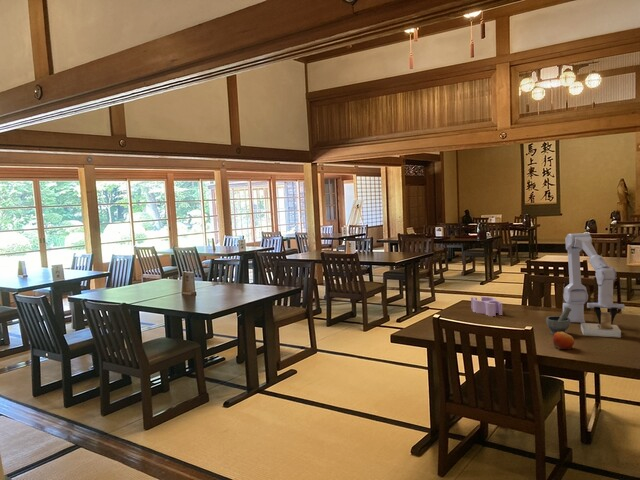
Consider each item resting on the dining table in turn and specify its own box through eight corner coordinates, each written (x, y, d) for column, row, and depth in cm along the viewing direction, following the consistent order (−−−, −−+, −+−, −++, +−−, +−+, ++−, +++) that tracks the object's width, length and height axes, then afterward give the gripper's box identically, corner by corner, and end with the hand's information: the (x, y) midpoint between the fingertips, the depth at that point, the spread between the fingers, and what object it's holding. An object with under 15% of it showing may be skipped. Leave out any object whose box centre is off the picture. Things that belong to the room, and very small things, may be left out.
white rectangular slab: (583, 335, 221) (583, 328, 221) (580, 329, 231) (580, 322, 230) (620, 337, 216) (620, 330, 215) (616, 331, 225) (616, 324, 225)
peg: (600, 331, 221) (601, 314, 221) (599, 329, 225) (599, 312, 224) (611, 332, 220) (611, 314, 219) (609, 329, 224) (609, 312, 223)
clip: (508, 315, 262) (508, 302, 262) (487, 317, 259) (487, 304, 259) (486, 307, 282) (486, 295, 281) (467, 309, 278) (467, 297, 278)
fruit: (544, 343, 208) (554, 326, 208) (559, 351, 209) (569, 335, 209) (555, 348, 200) (565, 331, 200) (571, 357, 201) (580, 340, 201)
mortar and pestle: (553, 337, 221) (553, 310, 219) (541, 331, 230) (541, 306, 229) (577, 335, 222) (577, 309, 221) (564, 329, 231) (564, 304, 230)
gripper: (588, 295, 220) (588, 325, 221) (626, 296, 214) (625, 327, 216) (586, 292, 226) (586, 321, 228) (622, 293, 221) (622, 323, 222)
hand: (605, 324), depth 222 cm, fingers closed on peg, 4 cm apart
